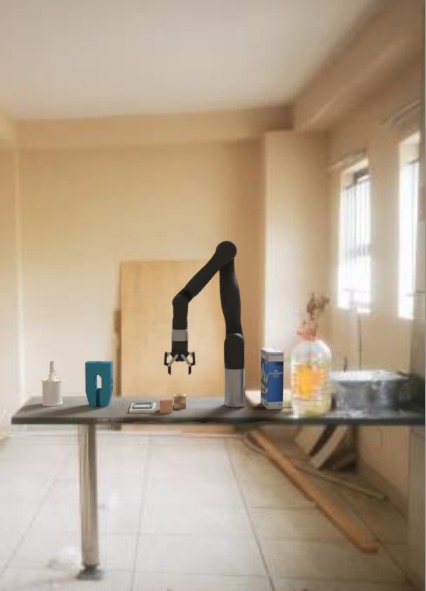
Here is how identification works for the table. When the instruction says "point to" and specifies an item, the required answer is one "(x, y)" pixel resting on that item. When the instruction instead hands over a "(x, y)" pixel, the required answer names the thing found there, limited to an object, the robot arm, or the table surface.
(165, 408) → the terracotta block
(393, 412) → the table surface
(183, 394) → the maple block
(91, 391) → the block
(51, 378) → the white nozzle bottle
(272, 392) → the string lights box
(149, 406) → the blueprint baseplate
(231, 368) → the robot arm
